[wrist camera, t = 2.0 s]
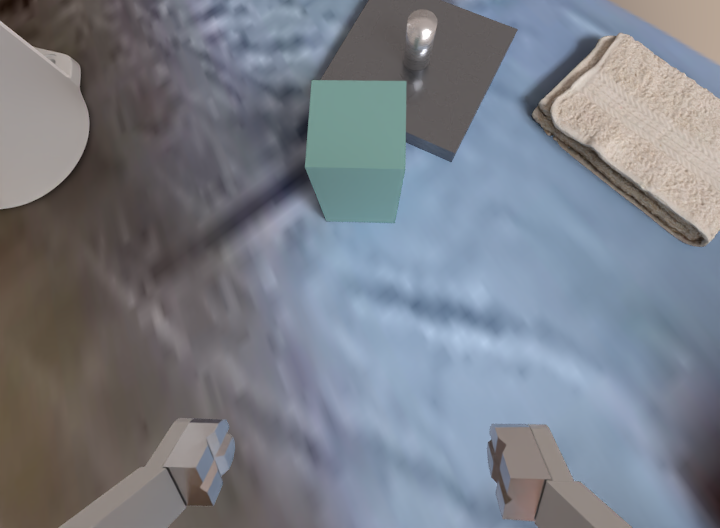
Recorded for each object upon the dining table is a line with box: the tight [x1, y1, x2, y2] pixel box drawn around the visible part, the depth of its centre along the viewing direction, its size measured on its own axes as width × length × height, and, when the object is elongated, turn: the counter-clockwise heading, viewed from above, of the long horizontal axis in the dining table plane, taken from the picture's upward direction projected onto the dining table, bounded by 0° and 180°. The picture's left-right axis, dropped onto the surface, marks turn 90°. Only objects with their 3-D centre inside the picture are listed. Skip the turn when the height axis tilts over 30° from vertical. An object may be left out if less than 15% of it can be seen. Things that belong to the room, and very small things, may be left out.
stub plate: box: [321, 0, 518, 162], centre depth 31 cm, size 14×14×6 cm
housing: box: [305, 80, 406, 223], centre depth 26 cm, size 6×6×10 cm
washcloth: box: [532, 33, 720, 247], centre depth 30 cm, size 12×18×3 cm, turn 46°
